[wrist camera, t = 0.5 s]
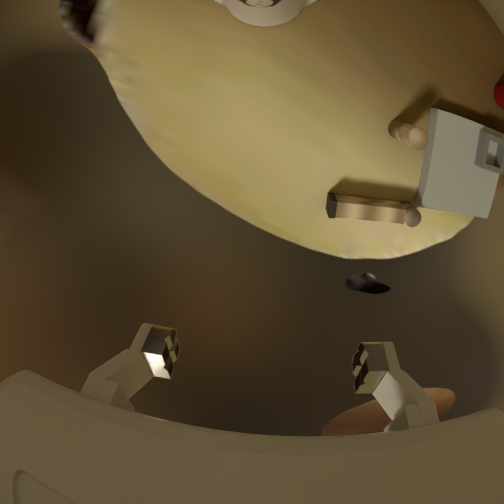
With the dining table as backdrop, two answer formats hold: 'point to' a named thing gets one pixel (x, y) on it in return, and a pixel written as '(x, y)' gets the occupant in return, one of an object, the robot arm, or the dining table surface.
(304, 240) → the dining table surface
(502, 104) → the plastic cup
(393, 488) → the robot arm
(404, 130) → the leg peg
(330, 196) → the hinged leg
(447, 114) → the stool seat
